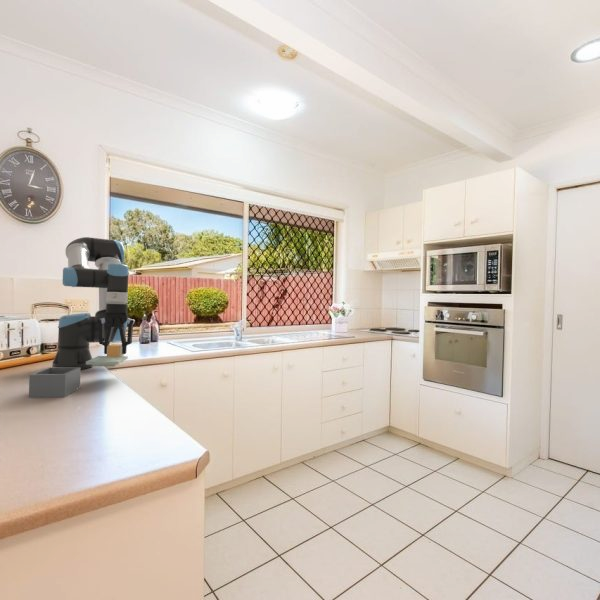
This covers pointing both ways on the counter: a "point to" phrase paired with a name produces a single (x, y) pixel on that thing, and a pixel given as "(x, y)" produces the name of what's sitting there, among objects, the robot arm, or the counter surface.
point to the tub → (54, 382)
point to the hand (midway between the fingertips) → (115, 362)
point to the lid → (108, 357)
